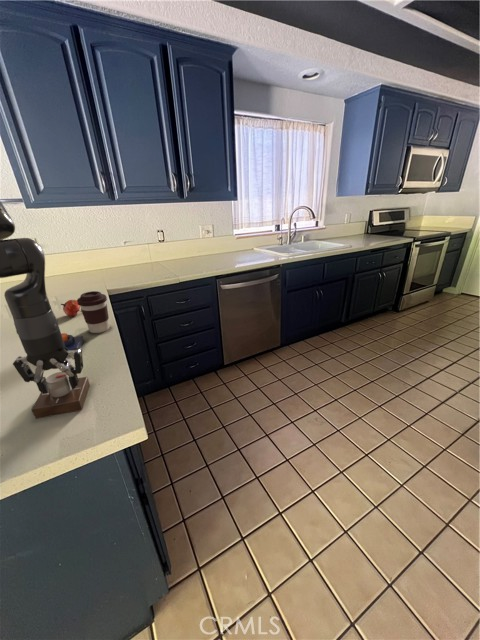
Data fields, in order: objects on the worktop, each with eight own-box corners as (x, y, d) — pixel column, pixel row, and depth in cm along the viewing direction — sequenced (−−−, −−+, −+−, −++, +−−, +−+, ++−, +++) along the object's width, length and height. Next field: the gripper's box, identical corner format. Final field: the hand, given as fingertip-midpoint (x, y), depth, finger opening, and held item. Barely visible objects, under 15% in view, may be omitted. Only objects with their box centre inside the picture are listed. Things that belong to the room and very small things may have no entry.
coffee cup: (86, 337, 99) (76, 300, 93) (84, 327, 107) (74, 292, 101) (115, 331, 104) (106, 295, 98) (111, 322, 112) (103, 288, 105)
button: (54, 343, 88) (53, 338, 88) (58, 338, 91) (56, 334, 91) (66, 341, 89) (65, 337, 89) (69, 337, 92) (68, 332, 92)
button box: (44, 358, 87) (40, 348, 85) (53, 345, 94) (49, 335, 93) (78, 353, 89) (75, 343, 88) (84, 340, 97) (81, 331, 95)
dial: (48, 398, 65) (42, 383, 63) (54, 387, 69) (48, 372, 67) (69, 395, 66) (63, 379, 64) (73, 384, 70) (68, 369, 68)
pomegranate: (80, 315, 124) (56, 306, 117) (88, 302, 123) (64, 293, 116) (81, 322, 118) (56, 314, 112) (89, 309, 117) (64, 300, 111)
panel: (35, 419, 63) (31, 409, 62) (49, 392, 72) (45, 382, 70) (82, 409, 66) (78, 400, 64) (89, 385, 74) (87, 376, 73)
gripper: (78, 319, 65) (94, 375, 72) (9, 327, 61) (33, 385, 68) (70, 333, 59) (89, 393, 66) (-8, 343, 55) (21, 405, 62)
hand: (60, 388), depth 67 cm, fingers open, 5 cm apart
